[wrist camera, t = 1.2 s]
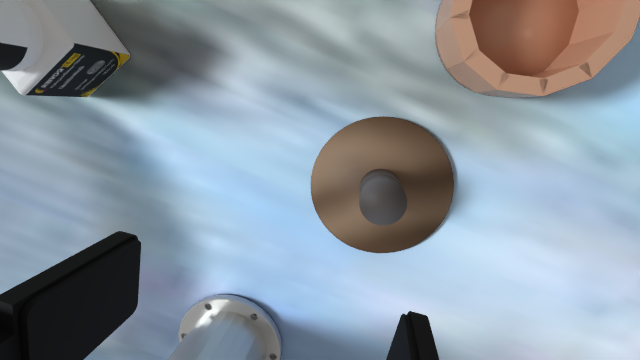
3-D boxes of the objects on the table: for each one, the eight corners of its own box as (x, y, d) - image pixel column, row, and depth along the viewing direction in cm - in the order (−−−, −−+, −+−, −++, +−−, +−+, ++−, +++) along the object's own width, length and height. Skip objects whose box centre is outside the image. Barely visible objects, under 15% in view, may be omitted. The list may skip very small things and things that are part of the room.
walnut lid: (469, 226, 32) (491, 252, 27) (340, 265, 35) (335, 295, 29) (426, 93, 30) (440, 91, 24) (291, 146, 33) (276, 155, 27)
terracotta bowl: (599, 63, 27) (663, 52, 21) (457, 116, 30) (480, 118, 24) (565, -84, 25) (625, -141, 19) (416, -15, 28) (431, -47, 22)
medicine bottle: (88, 98, 34) (-53, 94, 23) (44, 41, 33) (-126, 6, 22) (133, 56, 32) (6, 29, 21) (88, -5, 32) (-72, -69, 20)
